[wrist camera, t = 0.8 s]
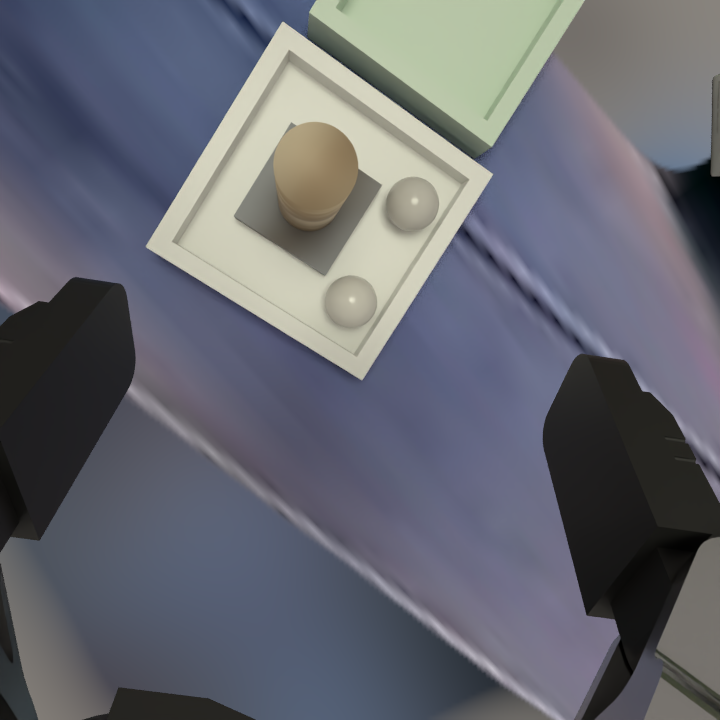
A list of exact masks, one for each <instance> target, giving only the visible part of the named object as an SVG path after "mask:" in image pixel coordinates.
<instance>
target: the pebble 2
mask: <svg viewBox="0 0 720 720" xmlns="http://www.w3.org/2000/svg"><path fill="white" fill-rule="evenodd" d="M438 209H439V198H438V194H437V192H436V190H435V188H434V187H433V185H432V184H431V183H429V182H428V181H427V180H425V179H423V178H420V177H407V178H404V179H401V180H400V181H398V182H397V183H395V184H394V185H393V186H392V188H391V189H390V191H389V193H388V195H387V199H386V211H387V214H388V217H389V218H390V220H391V221H392V223H393V224H394V225H395V226H397V227H398V228H400V229H402V230H404V231H410V232H414V231H419V230H422V229H424V228H426V227H427V226H429V225H430V224H431V223H432V222H433V220H434V219H435V217H436V215H437V213H438Z"/></svg>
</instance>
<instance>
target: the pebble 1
mask: <svg viewBox="0 0 720 720" xmlns="http://www.w3.org/2000/svg"><path fill="white" fill-rule="evenodd" d="M325 308H326V311H327V313H328V315H329V317H330V318H331V319H332V320H333V321H334V322H335V323H336V324H338V325H340V326H342V327H346V328H357V327H360V326H362V325H364V324H366V323H367V322H368V321H369V320H370V319H371V318H372V317H373V315H374V314H375V311H376V308H377V296H376V292H375V290H374V288H373V287H372V285H371V284H370V283H369V282H368V281H367V280H365V279H363V278H361V277H359V276H354V275H348V276H343V277H341V278H338V279H337V280H335V281H334V282H333V283H332V284H331V285H330V287H329V288H328V290H327V292H326V296H325Z"/></svg>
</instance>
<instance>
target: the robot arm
mask: <svg viewBox="0 0 720 720" xmlns="http://www.w3.org/2000/svg"><path fill="white" fill-rule="evenodd" d="M134 370H135V348H134V341H133V335H132V328H131V321H130V314H129V308H128V301H127V295H126V291H125V289H124V287H123V286H122V285H121V284H118V283H111V282H105V281H98V280H91V279H85V278H78V277H75V278H72V279H70V280H69V281H68V282H67V283H66V285H65V286H64V287H63V288H62V289H61V290H60V291H59V292H58V293H57V294H56V295H55V296H54V298H53V299H52V300H51V301H50V302H49V303H48V302H41V301H38V302H37V303H35V304H33V305H31V306H29V307H27V308H25V309H23V310H21V311H19V312H17V313H16V314H14V315H12V316H10V317H9V318H8V319H7V320H6V321H5V322H4V323H3V324H2V325H1V326H0V552H1V550H2V549H3V547H4V546H5V544H6V543H7V541H8V539H9V538H10V537H16V538H24V539H31V540H40V539H41V537H42V535H43V534H44V532H45V530H46V528H47V527H48V525H49V523H50V522H51V520H52V518H53V517H54V515H55V513H56V512H57V510H58V508H59V506H60V505H61V503H62V501H63V499H64V498H65V496H66V494H67V493H68V491H69V489H70V487H71V486H72V484H73V482H74V481H75V479H76V477H77V475H78V474H79V472H80V470H81V469H82V467H83V465H84V464H85V462H86V460H87V458H88V457H89V455H90V453H91V452H92V450H93V448H94V446H95V445H96V443H97V441H98V440H99V438H100V436H101V434H102V433H103V431H104V429H105V428H106V426H107V424H108V423H109V421H110V419H111V417H112V416H113V414H114V412H115V410H116V409H117V407H118V405H119V404H120V402H121V400H122V398H123V397H124V395H125V393H126V392H127V390H128V388H129V386H130V384H131V381H132V378H133V375H134ZM543 447H544V452H545V455H546V459H547V463H548V467H549V471H550V475H551V479H552V483H553V487H554V490H555V494H556V498H557V502H558V506H559V510H560V514H561V518H562V521H563V525H564V529H565V533H566V537H567V541H568V545H569V549H570V553H571V556H572V560H573V564H574V568H575V572H576V576H577V580H578V584H579V587H580V591H581V595H582V599H583V603H584V607H585V611H586V615H587V616H594V617H601V618H609V619H615V621H616V624H617V628H618V631H619V635H618V637H617V638H616V639H615V640H614V641H613V643H612V644H611V646H610V648H609V650H608V652H607V654H606V656H605V658H604V660H603V662H602V664H601V666H600V668H599V670H598V672H597V674H596V676H595V678H594V680H593V682H592V685H591V687H590V689H589V691H588V693H587V695H586V697H585V699H584V701H583V703H582V705H581V707H580V709H579V711H578V713H577V715H576V717H575V719H574V720H720V503H719V501H718V499H717V497H716V495H715V493H714V492H713V490H712V488H711V486H710V484H709V482H708V480H707V478H706V477H705V475H704V473H703V471H702V469H701V467H700V465H699V464H696V463H695V461H696V458H695V456H694V454H693V452H692V450H691V448H690V447H689V445H688V444H686V443H685V437H684V435H683V433H682V431H681V430H680V428H679V426H678V424H677V422H676V420H675V418H674V416H673V415H672V414H671V413H670V412H669V411H668V410H667V409H666V408H665V407H664V406H663V405H662V404H661V403H660V402H659V401H658V400H657V399H656V398H655V397H654V396H653V395H652V394H651V393H650V392H643V391H642V390H641V388H640V386H639V384H638V382H637V380H636V378H635V376H634V374H633V372H632V370H631V368H630V366H629V364H628V363H627V362H626V361H624V360H620V359H613V358H606V357H600V356H593V355H586V354H580V355H578V356H577V357H576V358H575V359H574V361H573V362H572V364H571V366H570V368H569V370H568V372H567V374H566V376H565V378H564V381H563V383H562V385H561V387H560V389H559V391H558V393H557V395H556V397H555V399H554V401H553V403H552V405H551V407H550V410H549V412H548V414H547V416H546V419H545V423H544V428H543ZM0 720H38V717H37V714H36V710H35V708H34V704H33V701H32V698H31V696H30V693H29V691H28V688H27V684H26V681H25V678H24V674H23V670H22V666H21V661H20V656H19V651H18V646H17V641H16V636H15V631H14V627H13V621H12V617H11V611H10V607H9V602H8V597H7V592H6V587H5V583H4V577H3V573H2V567H1V564H0ZM84 720H255V719H253V718H251V717H248V716H246V715H244V714H242V713H239V712H237V711H235V710H233V709H231V708H228V707H226V706H224V705H222V704H220V703H217V702H215V701H213V700H211V699H208V698H200V697H191V696H183V695H176V694H168V693H160V692H152V691H144V690H135V689H127V688H118V690H117V694H116V696H115V699H114V701H113V704H112V707H111V709H110V712H109V714H103V715H98V716H94V717H91V718H87V719H84Z"/></svg>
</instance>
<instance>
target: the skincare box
mask: <svg viewBox="0 0 720 720" xmlns="http://www.w3.org/2000/svg"><path fill="white" fill-rule="evenodd" d="M712 81H713V82H712V137H711V139H712V140H711V141H712V142H711V176H720V74H718V75H716V76H715V77H714V78H713V80H712Z"/></svg>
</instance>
